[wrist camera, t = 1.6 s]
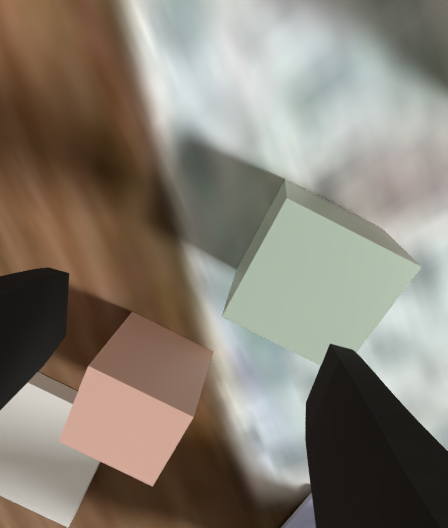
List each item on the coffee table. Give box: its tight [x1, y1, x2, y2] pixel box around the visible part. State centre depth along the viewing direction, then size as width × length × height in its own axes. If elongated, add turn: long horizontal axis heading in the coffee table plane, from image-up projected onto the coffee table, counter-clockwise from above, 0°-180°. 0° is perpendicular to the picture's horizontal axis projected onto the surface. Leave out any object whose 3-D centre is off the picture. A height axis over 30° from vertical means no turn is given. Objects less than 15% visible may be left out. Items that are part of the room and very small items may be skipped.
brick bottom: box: [222, 179, 421, 366], centre depth 15 cm, size 5×5×5 cm
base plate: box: [0, 372, 100, 527], centre depth 24 cm, size 11×11×1 cm
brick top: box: [59, 312, 213, 486], centre depth 19 cm, size 5×5×5 cm
